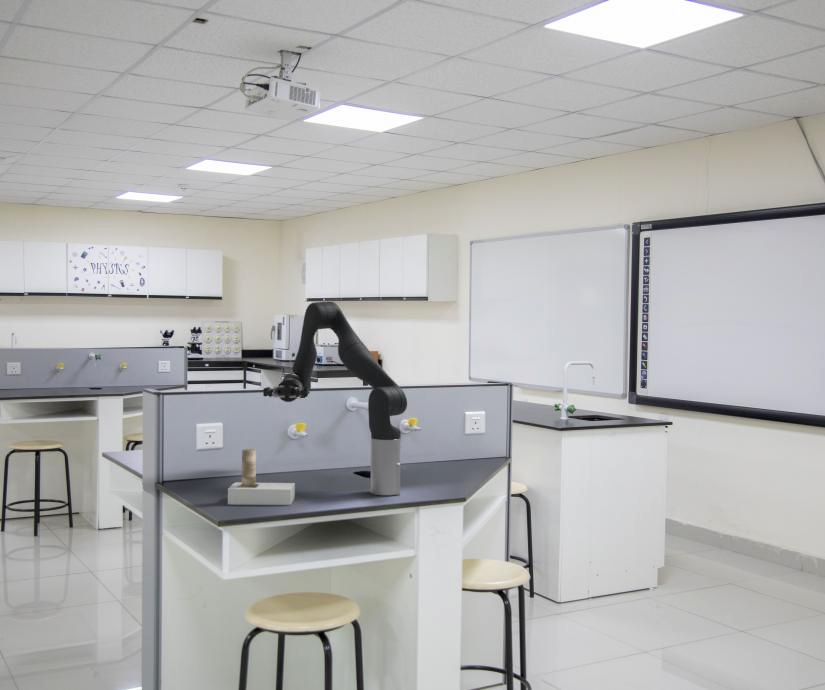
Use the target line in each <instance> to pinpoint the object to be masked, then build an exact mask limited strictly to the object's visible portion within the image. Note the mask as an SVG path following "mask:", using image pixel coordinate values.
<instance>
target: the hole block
mask: <svg viewBox="0 0 825 690" xmlns="http://www.w3.org/2000/svg"><path fill="white" fill-rule="evenodd" d="M295 492H296V482H256V484H255V488H242V481H240V482H237V481H236V482H234V483H232V484H231V486H229V487H228V488H227V505H238V506H239V505H241V506H242V505H245V506H246V505H248V506H249V505H253V506H255V505H259V506H262V505H263V506H291V505H292V503H293V502H294V500H295V495H296V493H295Z"/></svg>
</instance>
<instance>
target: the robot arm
mask: <svg viewBox="0 0 825 690" xmlns="http://www.w3.org/2000/svg"><path fill="white" fill-rule="evenodd" d="M323 329H324V330H325V329H330V330H331V331H332V332H334V334H335V335H336V337H337V339H338V345H337V355H338V357H339V360H340V361H341V362H342V364H343V365H344V366H345V368H346V369H347V370H348V372H349V373H350V374H352V375H353V376H354V377H356V378H358V380H360V381H362V382H363V383H365V384H367V385H369V386H370V387H371V388H372V390H371V391H370V393H369V396H368V400H367V402H368V404H367V405H368V406H367V408H368V410H367V411H368V427H369V431H370V435H371V436H370V438H371V440H370V490H369V491H370V494H372V495H376V496H396V495H397V496H398V495H401V437H402V436H401V435H402V433H401V429H400V428H398V427H396V426H393V424H392V423H391V417H393V416H400V415H402V414H403V413H405V411H406V410H407V408H408V400H407V399H408V398H407V396H406V393H405V392H404V390H403V389H402V388H401V387H400V385H399V384H398V383H397V382H396V381H394V379H393V378H392V377H391V376H390V375H389V374H388V373H387V372H386V371H385V369H384V368H383V367H382V366H381V365H380V363H379V362H378V361H377V359H376V358H375V357H374V355H373V354H372V352H370V349H368V347H367V346H366V345H365V344H364V342H363V341H362V340H361V338H360V337H359V336H358V335H357V333H356V332H355V331H354V329H353V327H352V326H351V325H350V323H349V321H348V320H347V318H346V316H345V314H344V312H343V310H342V309H341V308H340V306H339V305H338V304H337V303H335V302H334V301H316V302H314V301H313V302H311V303H309V304H308V305H307V307H306V309H305V313H304V317H303V322H302V328H301V335H300V341H299V346H298V349H297V350H298V351H297V353H296V356H295V359H294V361H293V364H292V368H291V370H292V372H293V373H288V374H285V376H284V377H282V380H281V382H279V384H278V386H273V387H272V388H271V387H270V386H267V387H264V388H263V392H262V393H263V395H262V396H263V397H269V398H271V397H273V398H279V399H280V400H282V401H283V402H286V403H291V402H294V401H296V400H297V399H300V398H304V399H306V398H307V397H308V396H309V395H310V392H311V389H312V388H311V387H312V373H313V370H314V367H315V365H316V361H317V358H318V352H317V347H316V344H315V341H314V339H315V336H316V332H318V330H323ZM308 389H310V390H308ZM309 391H310V392H309ZM308 394H309V395H308ZM298 397H300V398H298ZM305 397H306V398H305Z"/></svg>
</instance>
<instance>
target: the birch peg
mask: <svg viewBox="0 0 825 690" xmlns="http://www.w3.org/2000/svg"><path fill="white" fill-rule="evenodd" d="M256 466H257V449H253V448H252V449H251V448H247V449H246V448H245V449H242V451H241V482H242V488H255V484H256V483H257V482H256V481H257V480H256V478H257V474H256V472H257V471H256V470H257V467H256Z"/></svg>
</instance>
